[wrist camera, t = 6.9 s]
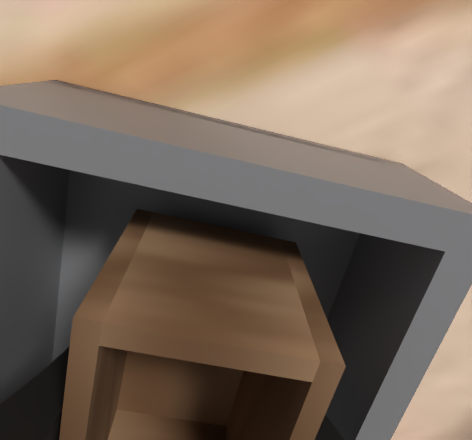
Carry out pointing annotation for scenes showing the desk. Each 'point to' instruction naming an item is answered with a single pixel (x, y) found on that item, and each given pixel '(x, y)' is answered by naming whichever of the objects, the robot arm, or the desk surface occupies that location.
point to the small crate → (199, 339)
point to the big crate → (229, 216)
